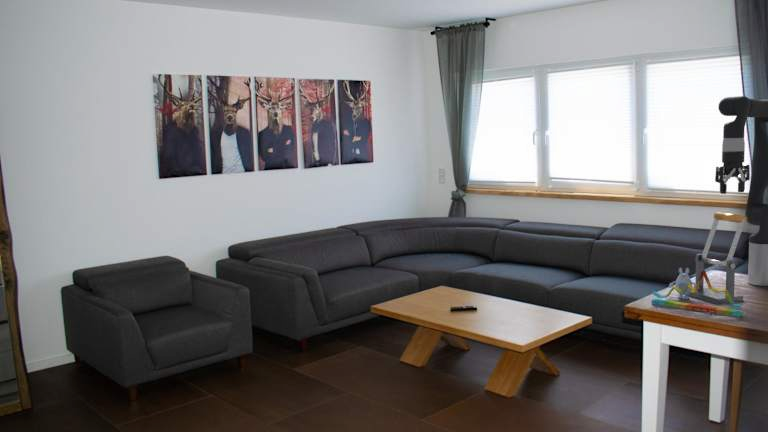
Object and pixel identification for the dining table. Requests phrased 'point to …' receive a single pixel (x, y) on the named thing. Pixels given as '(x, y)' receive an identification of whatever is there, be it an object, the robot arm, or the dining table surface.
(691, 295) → the lever stand
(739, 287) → the dining table surface
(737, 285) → the dining table surface
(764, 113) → the robot arm
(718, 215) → the lever
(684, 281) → the toy figure
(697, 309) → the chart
